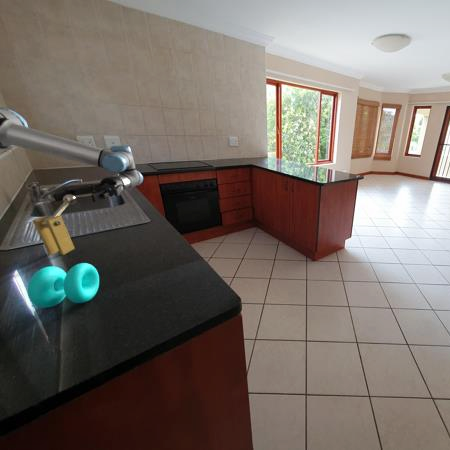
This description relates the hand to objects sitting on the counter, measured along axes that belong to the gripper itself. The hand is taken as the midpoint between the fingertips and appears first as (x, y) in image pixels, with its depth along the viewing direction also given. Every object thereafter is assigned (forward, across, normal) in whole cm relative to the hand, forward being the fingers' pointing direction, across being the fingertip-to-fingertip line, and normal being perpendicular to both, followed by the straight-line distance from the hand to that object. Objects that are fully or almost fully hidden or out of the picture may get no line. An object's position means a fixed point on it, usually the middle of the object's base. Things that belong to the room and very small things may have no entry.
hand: (74, 198), depth 86 cm
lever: (+6, 0, +4) cm, 7 cm away
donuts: (+34, +23, +17) cm, 45 cm away
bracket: (+11, 0, +17) cm, 20 cm away
